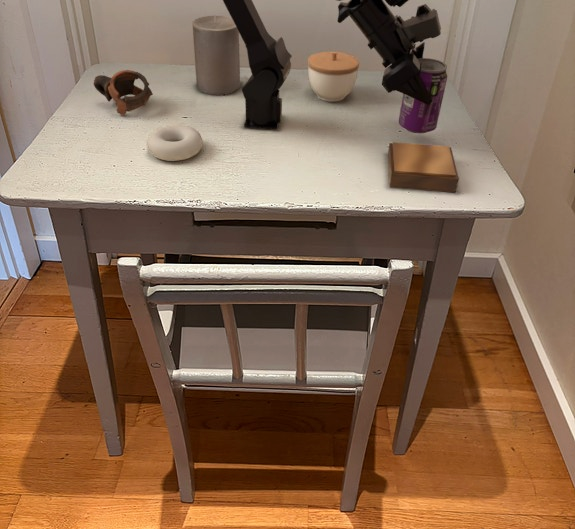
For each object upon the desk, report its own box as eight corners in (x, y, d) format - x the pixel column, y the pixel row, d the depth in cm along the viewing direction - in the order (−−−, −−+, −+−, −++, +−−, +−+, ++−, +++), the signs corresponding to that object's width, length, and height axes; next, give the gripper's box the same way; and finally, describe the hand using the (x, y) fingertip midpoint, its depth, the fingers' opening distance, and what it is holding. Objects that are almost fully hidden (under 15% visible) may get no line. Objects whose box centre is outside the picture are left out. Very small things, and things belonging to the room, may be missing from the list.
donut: (141, 145, 105) (157, 169, 98) (138, 127, 103) (154, 151, 96) (192, 134, 109) (211, 157, 102) (190, 117, 106) (210, 139, 99)
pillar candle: (193, 79, 129) (188, 10, 119) (236, 76, 131) (233, 7, 121) (200, 97, 121) (195, 24, 112) (245, 93, 124) (243, 21, 114)
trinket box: (337, 82, 129) (341, 40, 123) (365, 100, 122) (370, 56, 116) (297, 91, 125) (298, 48, 119) (323, 110, 118) (326, 65, 112)
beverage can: (435, 138, 104) (450, 74, 96) (396, 133, 105) (408, 69, 97) (435, 121, 109) (449, 59, 101) (398, 117, 110) (409, 55, 102)
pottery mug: (156, 97, 122) (157, 72, 114) (145, 133, 118) (145, 109, 111) (100, 81, 120) (97, 54, 113) (86, 117, 116) (82, 91, 109)
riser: (389, 187, 95) (392, 171, 93) (387, 155, 104) (389, 140, 102) (455, 192, 95) (459, 176, 93) (448, 159, 103) (451, 145, 101)
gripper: (415, 8, 85) (472, 88, 91) (421, -22, 99) (470, 49, 105) (357, 55, 92) (413, 127, 97) (370, 20, 106) (419, 85, 111)
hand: (431, 95), depth 102 cm, fingers closed on beverage can, 7 cm apart
